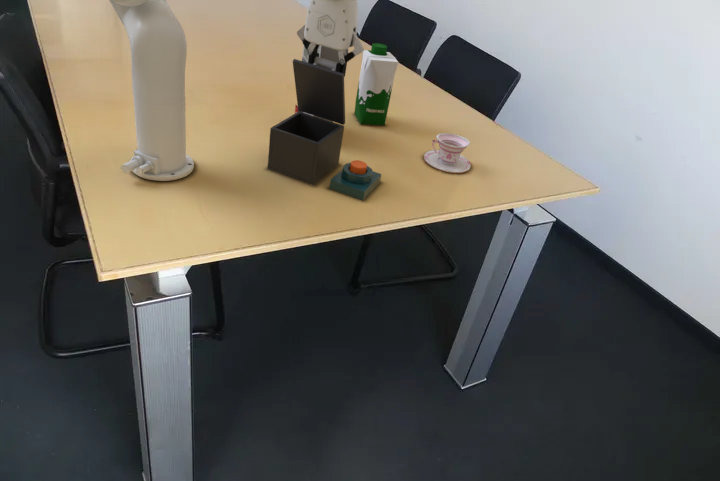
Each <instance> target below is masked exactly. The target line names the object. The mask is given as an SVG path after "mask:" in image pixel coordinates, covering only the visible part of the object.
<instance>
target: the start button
mask: <svg viewBox="0 0 720 481" xmlns="http://www.w3.org/2000/svg"><path fill="white" fill-rule="evenodd" d="M350 163H351V164H350V171H351V172H352V173H355V174H365V173H366V169H367V166H368V164H367V162H365V161H363V160H357V159H354V160H351V162H350Z"/></svg>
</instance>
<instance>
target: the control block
mask: <svg viewBox="0 0 720 481" xmlns="http://www.w3.org/2000/svg"><path fill="white" fill-rule="evenodd" d="M350 164H351V162H348V163H345V164H344V165H342V169H341V170H340V171H338V173H336V175H334V176H333V177H332V178H331V179H330V181H329V189H330V190H333V191H335V192H338V193H340V194H344V195H346V196H349V197H353V198H355V199H358V200H360V201H364V200H365V199H366V198H367V197H368V196H369V195H370V194H371V193H372V191H373V190H374V189H376V187H377V186H378V185H379V184H380V183H381V179H382V173H381V172H376V171H374V170H373V169H372V168H371V167H370V166H368V165H367V169H366V173H365V174H355V173H352V172H351V171H350Z"/></svg>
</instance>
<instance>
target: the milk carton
mask: <svg viewBox="0 0 720 481" xmlns="http://www.w3.org/2000/svg"><path fill="white" fill-rule="evenodd" d="M398 65H399V61H398V60H397V57H396V56H394V55H393V54H392V53H391V52H389V51H388V46H387V45H386V44H384V43H381V42H380V43H379V42H373V43H372V44H371V48H370V49H364V51H363V52H362V59H361V67H360V71H359V78H358V83H357V84H358V85H357V90H356V96H355V105H354V116H355V117H356V119H357V121H358V122H359V124H360V125H364V126H386V121H387V116H388V111H389V106H390V102H391V96H392V91H393V86H394V81H395V75H396V73H397V69H398Z"/></svg>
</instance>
